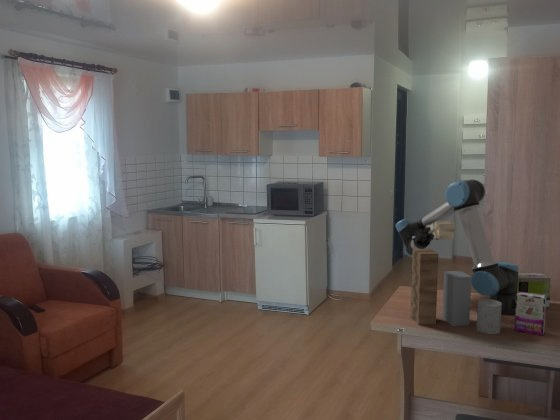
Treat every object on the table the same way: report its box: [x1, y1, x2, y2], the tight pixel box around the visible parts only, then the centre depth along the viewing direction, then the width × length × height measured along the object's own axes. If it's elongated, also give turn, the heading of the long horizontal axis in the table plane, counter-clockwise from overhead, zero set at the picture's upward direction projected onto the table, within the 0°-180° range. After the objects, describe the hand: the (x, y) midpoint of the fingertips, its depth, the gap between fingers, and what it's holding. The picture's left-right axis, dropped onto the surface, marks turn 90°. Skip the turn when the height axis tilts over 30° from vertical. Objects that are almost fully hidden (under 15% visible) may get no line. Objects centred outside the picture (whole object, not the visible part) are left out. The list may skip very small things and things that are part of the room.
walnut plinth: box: [410, 248, 440, 326], centre depth 231 cm, size 10×8×32 cm
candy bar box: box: [514, 292, 547, 336], centre depth 218 cm, size 11×5×16 cm, turn 56°
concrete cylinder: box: [476, 298, 502, 335], centre depth 221 cm, size 10×10×12 cm
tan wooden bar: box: [426, 221, 456, 240], centre depth 237 cm, size 20×7×7 cm, turn 6°
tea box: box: [517, 272, 552, 308], centre depth 254 cm, size 15×10×15 cm
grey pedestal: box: [441, 270, 472, 327], centre depth 230 cm, size 10×8×22 cm
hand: (437, 225), depth 237 cm, fingers closed on tan wooden bar, 3 cm apart
